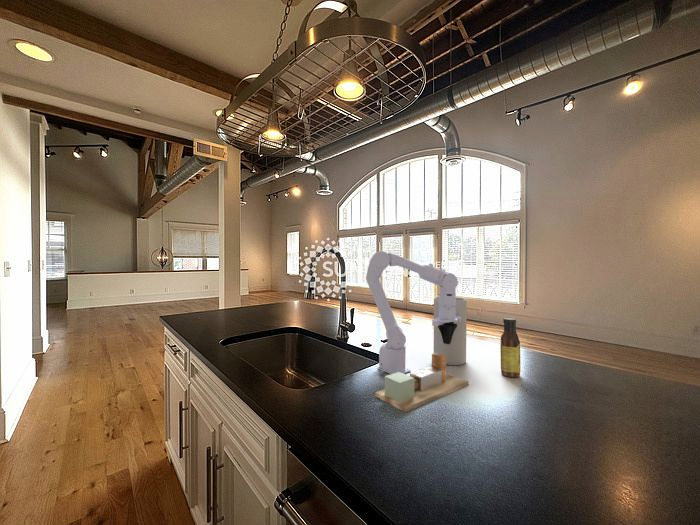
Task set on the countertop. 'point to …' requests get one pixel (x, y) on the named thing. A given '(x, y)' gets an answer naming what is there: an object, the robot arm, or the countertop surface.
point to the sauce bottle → (510, 349)
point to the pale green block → (399, 386)
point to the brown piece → (438, 363)
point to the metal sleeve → (428, 378)
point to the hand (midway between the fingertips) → (446, 343)
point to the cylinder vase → (457, 347)
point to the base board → (425, 394)
